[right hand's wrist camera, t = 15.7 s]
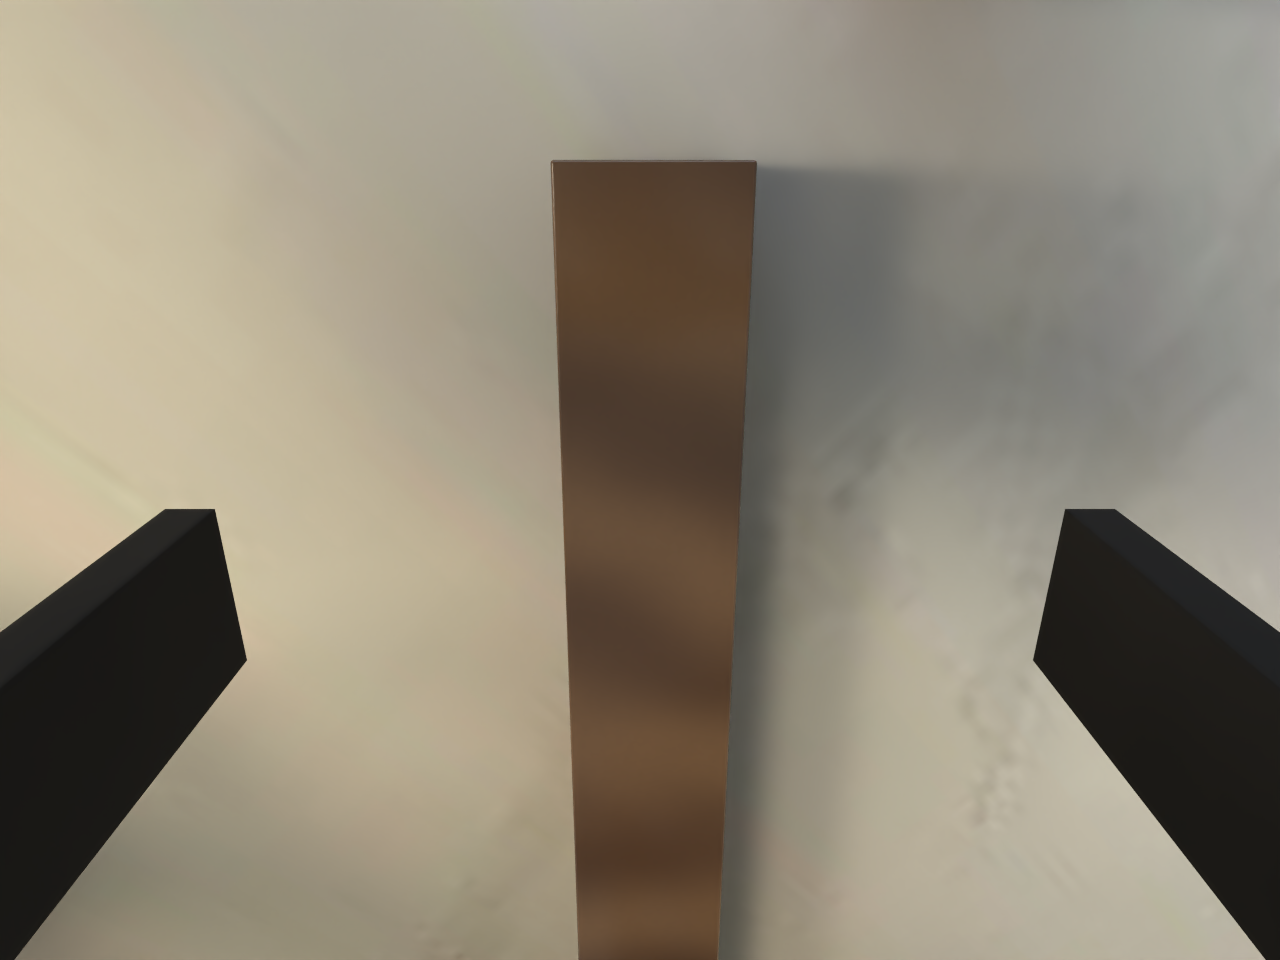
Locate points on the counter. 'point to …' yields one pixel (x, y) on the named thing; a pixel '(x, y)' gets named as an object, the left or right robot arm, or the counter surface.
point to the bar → (651, 534)
